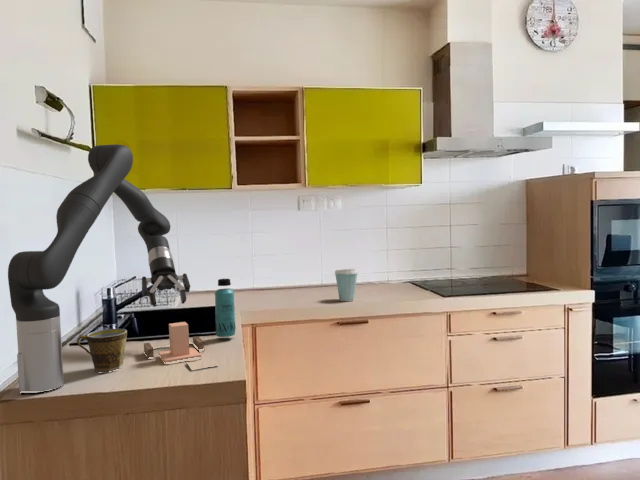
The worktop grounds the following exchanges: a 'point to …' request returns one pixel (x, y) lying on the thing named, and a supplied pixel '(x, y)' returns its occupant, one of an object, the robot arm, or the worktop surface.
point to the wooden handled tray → (149, 352)
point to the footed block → (179, 344)
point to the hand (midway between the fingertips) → (169, 303)
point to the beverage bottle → (224, 310)
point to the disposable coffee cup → (346, 283)
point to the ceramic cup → (106, 348)
